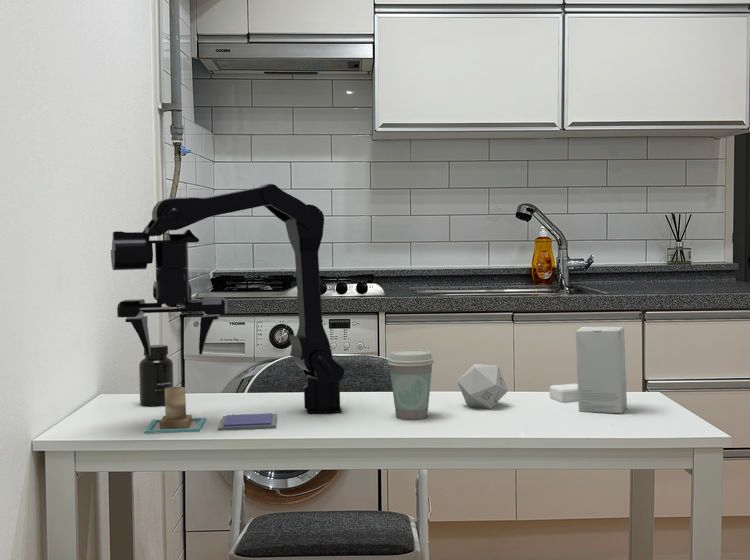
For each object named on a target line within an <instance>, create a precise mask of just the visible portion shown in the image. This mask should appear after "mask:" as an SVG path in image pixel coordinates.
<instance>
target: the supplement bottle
mask: <svg viewBox="0 0 750 560" xmlns="http://www.w3.org/2000/svg"><path fill="white" fill-rule="evenodd" d="M168 355H169V345H166V344H150V356H147V354H146V352H145V349H144V348H143V356H144V358H143V359H141V360H140V362H139V365H138V366H139V367H138V368H139V369H138V370H139V371H138V373H139V374H138V375H139V377H138V378H139V404H141V406H145V405H162V406H165V388H169V387H175V386H174V384H175V383H174V362H173V360H172V359H171V358H169V357H168Z"/></svg>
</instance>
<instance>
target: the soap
mask: <svg viewBox="0 0 750 560" xmlns="http://www.w3.org/2000/svg"><path fill="white" fill-rule="evenodd" d="M549 398H550V399H551V400H553V401H556V402H559V403H578V382H577V383H566V384H555V385H554V384H553V385H550V386H549Z"/></svg>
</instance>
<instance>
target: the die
mask: <svg viewBox="0 0 750 560" xmlns="http://www.w3.org/2000/svg"><path fill="white" fill-rule="evenodd" d="M456 382H457V385H458V387H459V389H460V391H461V393H462V396H463V399H464V402H465V404H466V406H467V407H472V408H479V409H480V408H482V409H488V410H491V409H493V408H494V406H496V404H497V403H498V402H499V401H500V400H501V399H502V398H503V397H505V395H506V394H507V393H508V391H509V390H508V386H507V384H506V381H505V379H504V377H503V375H502V373H501V369H500V367H499V365H494V364H483V363H481V364H480V363H474V364H473V365H472V366H471V367H469V368H468V370H466V372H465V373H464V374H463V375H462V376H461V377H460V378H459V379H458V380H457V381H456Z"/></svg>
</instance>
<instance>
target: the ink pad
mask: <svg viewBox="0 0 750 560" xmlns="http://www.w3.org/2000/svg"><path fill="white" fill-rule="evenodd" d="M277 417H278V413H271V412H269V413H249V414H248V413H247V414H227V415H222V417H221V420H220V422H219V425H218V427H217V428H218V431H239V430H244V431H245V430H263V429H264V430H265V429H267V430H269V429H276V427H277V419H278V418H277Z"/></svg>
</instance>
